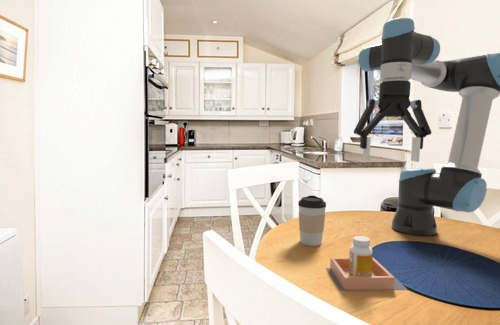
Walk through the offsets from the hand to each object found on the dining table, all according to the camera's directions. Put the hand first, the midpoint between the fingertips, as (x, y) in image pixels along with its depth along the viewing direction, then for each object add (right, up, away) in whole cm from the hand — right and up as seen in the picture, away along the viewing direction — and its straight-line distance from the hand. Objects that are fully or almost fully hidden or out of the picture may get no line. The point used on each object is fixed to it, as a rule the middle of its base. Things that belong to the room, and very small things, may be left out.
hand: (390, 161), depth 88 cm
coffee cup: (-18, -27, +19) cm, 38 cm away
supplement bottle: (-11, -29, -8) cm, 32 cm away
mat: (-10, -30, -7) cm, 32 cm away
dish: (-11, -29, -7) cm, 32 cm away
